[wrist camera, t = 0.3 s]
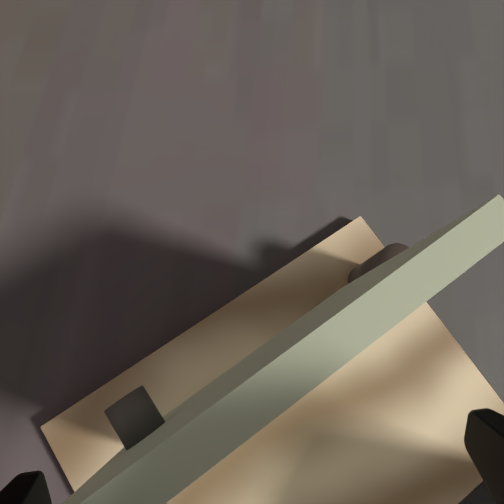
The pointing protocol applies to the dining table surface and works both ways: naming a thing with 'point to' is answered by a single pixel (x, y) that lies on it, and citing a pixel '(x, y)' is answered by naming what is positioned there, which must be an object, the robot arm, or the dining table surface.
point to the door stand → (310, 399)
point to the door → (280, 369)
